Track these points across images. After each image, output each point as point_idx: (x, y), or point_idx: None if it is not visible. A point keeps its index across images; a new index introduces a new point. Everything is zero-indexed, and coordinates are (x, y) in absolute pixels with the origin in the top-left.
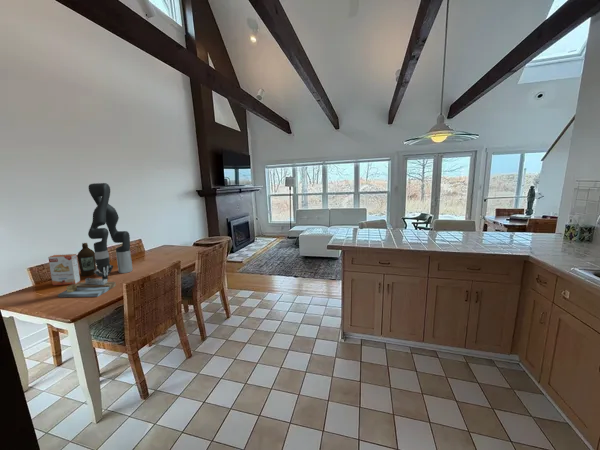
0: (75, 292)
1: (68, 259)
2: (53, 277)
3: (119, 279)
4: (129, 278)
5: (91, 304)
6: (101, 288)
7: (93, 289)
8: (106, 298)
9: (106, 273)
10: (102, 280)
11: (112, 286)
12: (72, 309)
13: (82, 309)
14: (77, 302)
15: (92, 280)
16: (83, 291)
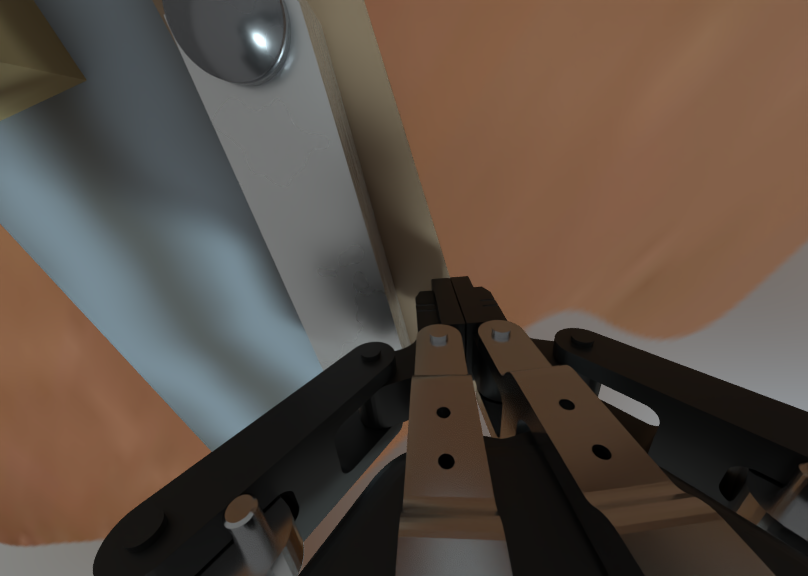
0: (41, 201)
1: None
2: None
3: (686, 196)
4: (713, 291)
5: (136, 494)
6: (307, 376)
7: (243, 324)
8: None
9: (491, 427)
10: None
11: None
12: (8, 464)
13: (67, 509)
14: (62, 388)
15: (265, 237)
16: (136, 271)
